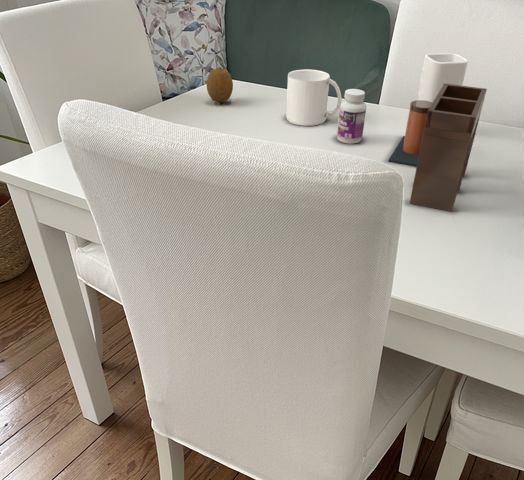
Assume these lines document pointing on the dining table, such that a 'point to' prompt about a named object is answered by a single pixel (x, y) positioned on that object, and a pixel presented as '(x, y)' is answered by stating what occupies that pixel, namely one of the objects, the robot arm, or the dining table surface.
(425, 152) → the rack
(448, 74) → the cup
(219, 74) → the fruit
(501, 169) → the dining table surface
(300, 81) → the mug
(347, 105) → the pill bottle
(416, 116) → the spice jar
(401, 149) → the mat
